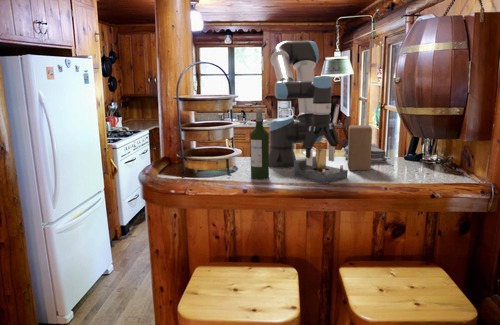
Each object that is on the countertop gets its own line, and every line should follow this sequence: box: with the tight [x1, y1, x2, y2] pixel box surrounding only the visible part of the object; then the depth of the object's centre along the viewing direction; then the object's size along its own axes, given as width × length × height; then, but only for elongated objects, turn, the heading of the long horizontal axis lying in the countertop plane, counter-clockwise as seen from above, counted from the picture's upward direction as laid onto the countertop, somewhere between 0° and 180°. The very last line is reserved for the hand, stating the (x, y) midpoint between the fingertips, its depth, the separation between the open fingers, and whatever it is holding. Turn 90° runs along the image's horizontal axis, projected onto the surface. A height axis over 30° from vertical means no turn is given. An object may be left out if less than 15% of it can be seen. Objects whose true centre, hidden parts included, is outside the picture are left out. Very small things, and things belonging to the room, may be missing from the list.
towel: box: [343, 143, 388, 164], centre depth 205 cm, size 15×18×8 cm
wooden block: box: [347, 124, 373, 172], centre depth 186 cm, size 10×10×20 cm
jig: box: [293, 155, 349, 184], centre depth 172 cm, size 18×14×7 cm
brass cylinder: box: [315, 148, 327, 171], centre depth 171 cm, size 4×4×12 cm
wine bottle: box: [249, 107, 270, 180], centre depth 171 cm, size 8×8×30 cm
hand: (320, 163), depth 171 cm, fingers open, 13 cm apart
